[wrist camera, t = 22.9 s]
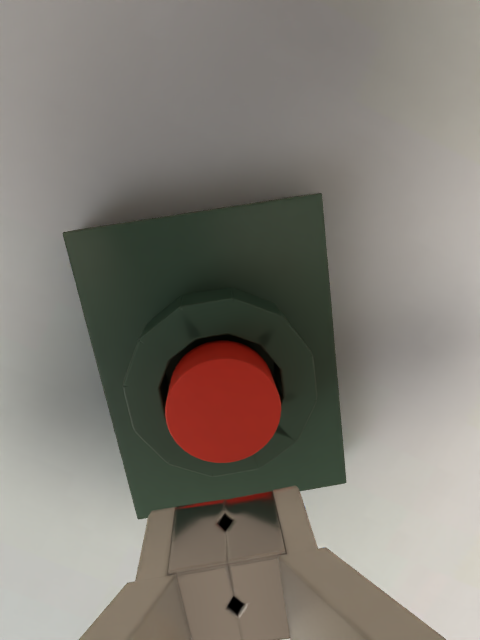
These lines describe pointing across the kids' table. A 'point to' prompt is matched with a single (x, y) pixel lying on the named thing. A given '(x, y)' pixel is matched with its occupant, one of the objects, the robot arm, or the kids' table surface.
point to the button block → (214, 339)
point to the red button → (222, 402)
